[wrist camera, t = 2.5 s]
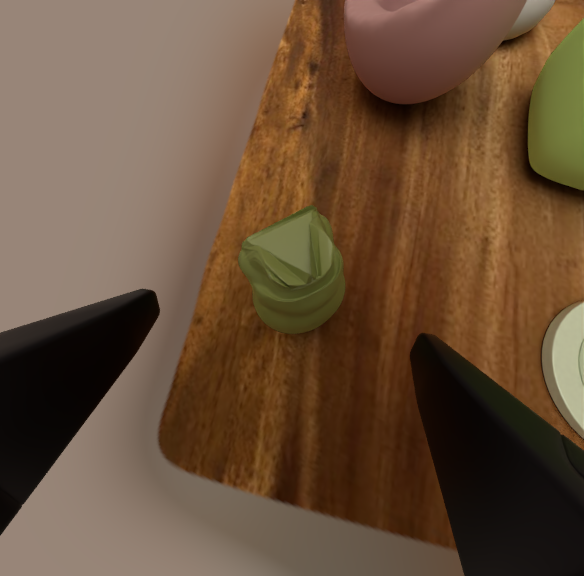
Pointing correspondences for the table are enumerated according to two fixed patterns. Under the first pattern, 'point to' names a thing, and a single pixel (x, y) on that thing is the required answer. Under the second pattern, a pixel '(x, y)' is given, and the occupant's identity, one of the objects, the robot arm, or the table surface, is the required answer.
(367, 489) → the table surface
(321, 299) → the olive green lumpy piece
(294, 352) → the table surface
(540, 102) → the teapot
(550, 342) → the plate
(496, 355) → the table surface
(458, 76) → the mortar and pestle
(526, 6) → the donut
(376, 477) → the table surface
